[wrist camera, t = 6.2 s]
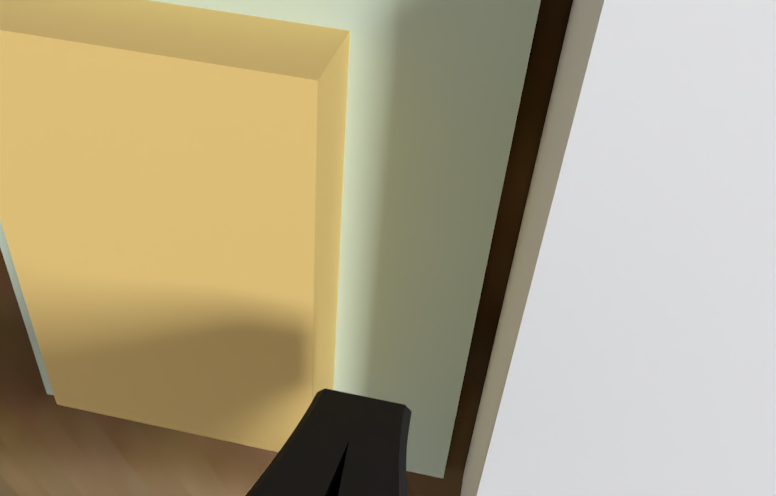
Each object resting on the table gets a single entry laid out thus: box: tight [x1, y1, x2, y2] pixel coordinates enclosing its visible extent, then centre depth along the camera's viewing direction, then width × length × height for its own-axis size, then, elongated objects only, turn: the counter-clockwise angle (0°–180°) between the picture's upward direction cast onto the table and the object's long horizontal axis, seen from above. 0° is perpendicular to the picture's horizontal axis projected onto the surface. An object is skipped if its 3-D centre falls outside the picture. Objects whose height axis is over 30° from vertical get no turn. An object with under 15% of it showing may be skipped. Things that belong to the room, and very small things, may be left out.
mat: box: [0, 0, 541, 479], centre depth 15 cm, size 14×11×1 cm
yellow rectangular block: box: [0, 0, 350, 452], centre depth 14 cm, size 9×6×2 cm, turn 175°
